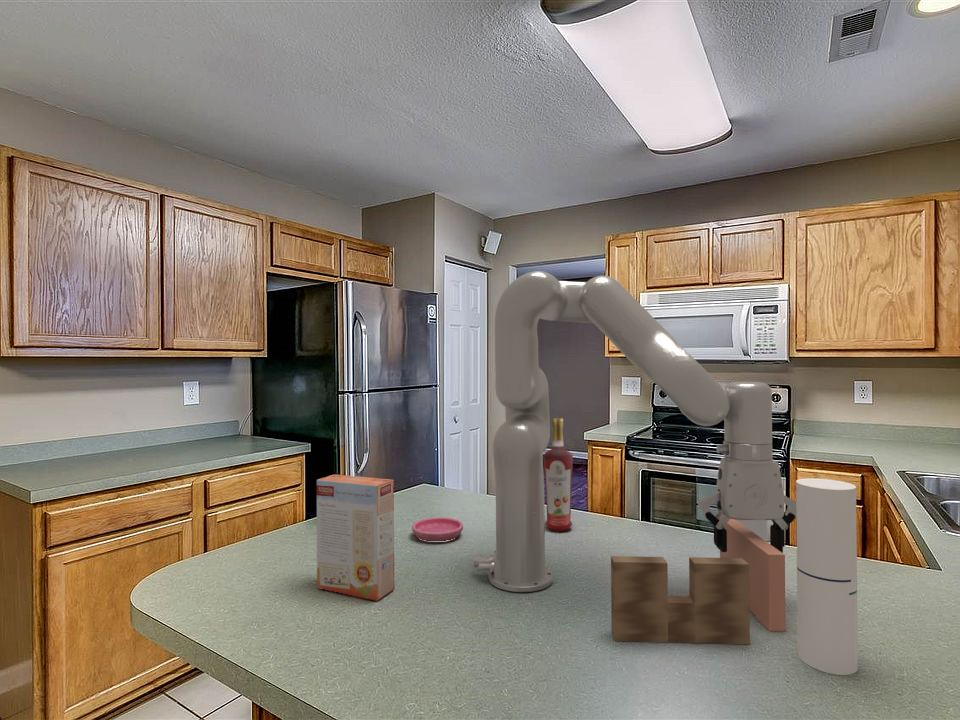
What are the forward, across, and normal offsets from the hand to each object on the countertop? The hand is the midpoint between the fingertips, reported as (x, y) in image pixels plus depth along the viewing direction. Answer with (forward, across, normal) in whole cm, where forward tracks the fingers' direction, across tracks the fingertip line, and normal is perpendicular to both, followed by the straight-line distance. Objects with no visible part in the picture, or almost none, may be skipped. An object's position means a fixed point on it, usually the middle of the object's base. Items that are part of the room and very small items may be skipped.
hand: (748, 549), depth 94 cm
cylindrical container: (+9, +3, -18) cm, 21 cm away
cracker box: (+9, -71, +2) cm, 72 cm away
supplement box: (+10, +10, +26) cm, 29 cm away
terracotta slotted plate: (+9, 0, 0) cm, 9 cm away
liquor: (+9, -30, +40) cm, 51 cm away
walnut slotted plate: (+9, -16, -13) cm, 23 cm away
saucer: (+10, -60, +33) cm, 69 cm away
